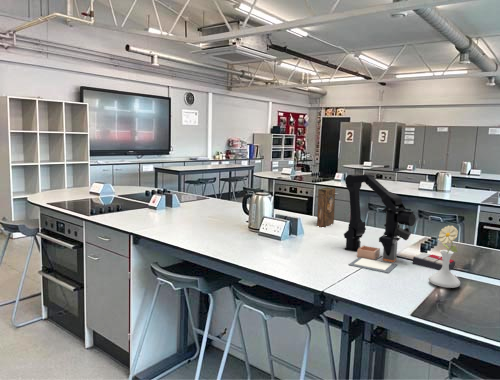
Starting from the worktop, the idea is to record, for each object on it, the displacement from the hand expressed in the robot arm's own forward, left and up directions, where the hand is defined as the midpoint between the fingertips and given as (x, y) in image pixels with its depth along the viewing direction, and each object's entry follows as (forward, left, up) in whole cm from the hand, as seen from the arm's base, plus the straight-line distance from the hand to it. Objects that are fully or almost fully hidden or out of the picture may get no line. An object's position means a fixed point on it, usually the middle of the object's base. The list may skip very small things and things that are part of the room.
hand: (389, 253), depth 183 cm
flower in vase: (+27, -21, -3) cm, 34 cm away
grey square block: (0, 0, -3) cm, 3 cm away
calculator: (+19, +5, -4) cm, 20 cm away
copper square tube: (-10, -1, -3) cm, 10 cm away
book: (-57, +53, -3) cm, 78 cm away
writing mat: (-4, -13, -3) cm, 14 cm away
